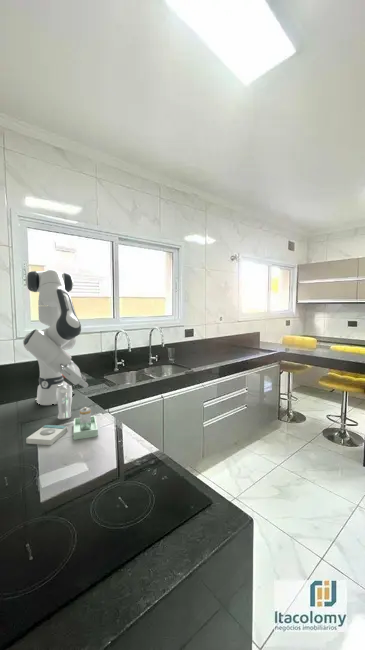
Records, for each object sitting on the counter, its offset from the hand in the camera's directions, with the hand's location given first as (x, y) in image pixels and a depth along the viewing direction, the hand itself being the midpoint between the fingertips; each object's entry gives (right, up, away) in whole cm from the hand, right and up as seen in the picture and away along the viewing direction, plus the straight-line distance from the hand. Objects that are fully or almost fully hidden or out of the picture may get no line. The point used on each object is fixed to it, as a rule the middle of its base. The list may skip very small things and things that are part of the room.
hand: (86, 383), depth 117 cm
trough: (-1, -20, +1) cm, 20 cm away
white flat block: (-14, -20, -6) cm, 25 cm away
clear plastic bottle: (-15, -19, +15) cm, 29 cm away
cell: (0, -20, -1) cm, 20 cm away
